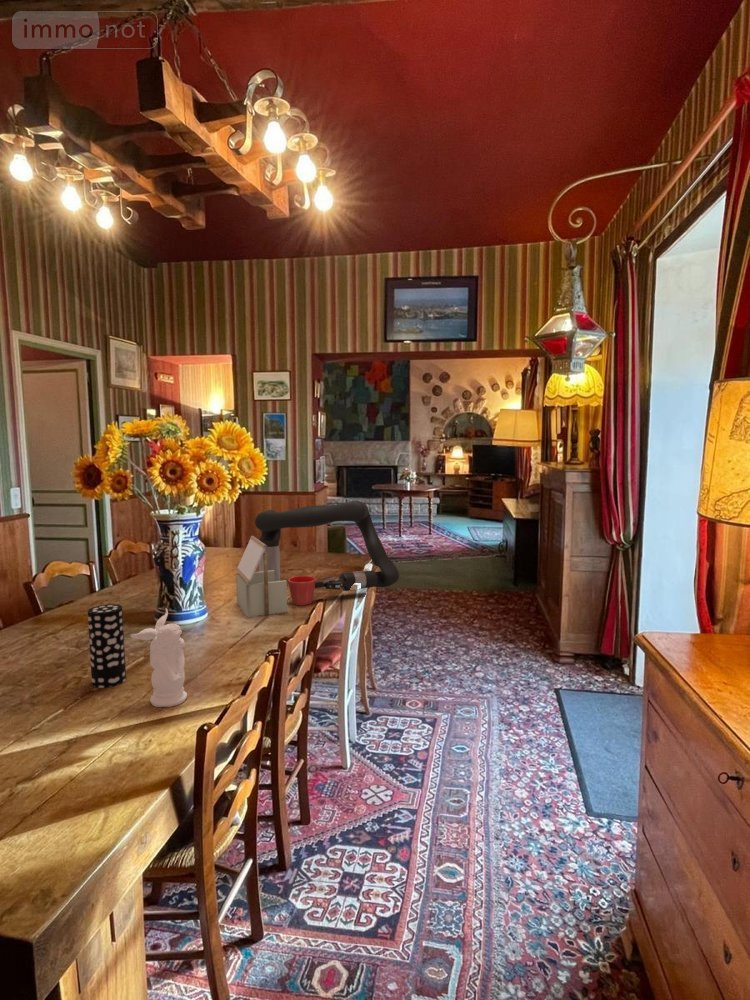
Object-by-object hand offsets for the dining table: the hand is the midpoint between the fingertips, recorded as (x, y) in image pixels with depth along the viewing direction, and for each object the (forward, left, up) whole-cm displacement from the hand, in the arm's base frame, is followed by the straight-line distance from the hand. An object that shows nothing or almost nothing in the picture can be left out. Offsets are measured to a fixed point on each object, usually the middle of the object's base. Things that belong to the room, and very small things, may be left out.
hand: (313, 585), depth 224 cm
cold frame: (0, -21, -7) cm, 22 cm away
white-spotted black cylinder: (+50, -74, -7) cm, 89 cm away
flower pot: (0, -5, -7) cm, 8 cm away
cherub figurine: (+68, -62, -7) cm, 92 cm away
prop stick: (+11, -22, -7) cm, 25 cm away
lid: (0, -24, +13) cm, 28 cm away
